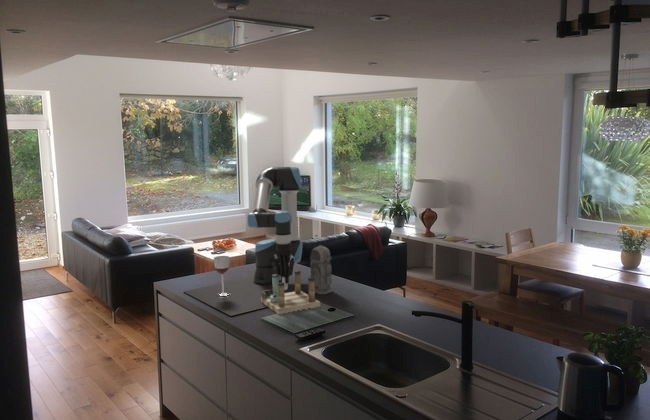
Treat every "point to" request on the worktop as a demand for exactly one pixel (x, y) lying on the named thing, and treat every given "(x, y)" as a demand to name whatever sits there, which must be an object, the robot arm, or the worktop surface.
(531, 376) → the worktop surface
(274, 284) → the folding leg
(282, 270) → the robot arm
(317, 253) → the figurine
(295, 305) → the stool
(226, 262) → the wineglass
